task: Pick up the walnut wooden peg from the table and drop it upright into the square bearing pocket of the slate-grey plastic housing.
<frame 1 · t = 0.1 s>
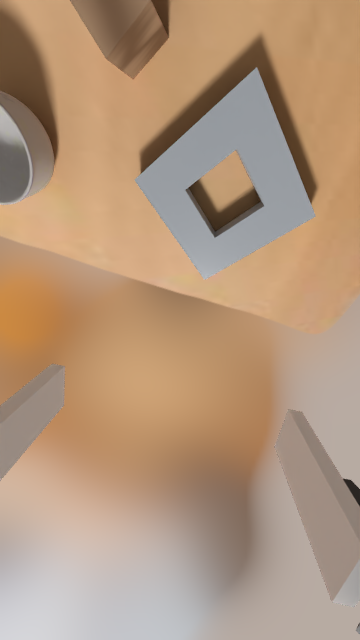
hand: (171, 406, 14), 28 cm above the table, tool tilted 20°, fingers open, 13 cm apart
peg: (134, 31, 24), on the table
housing: (224, 194, 32), on the table
teacup: (18, 152, 32), on the table
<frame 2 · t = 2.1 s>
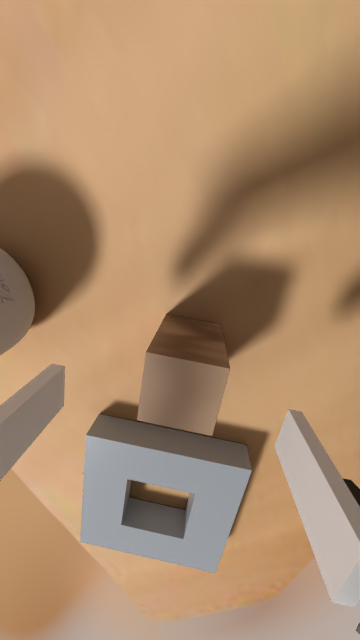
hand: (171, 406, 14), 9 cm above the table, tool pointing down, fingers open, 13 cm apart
peg: (188, 344, 22), on the table
housing: (161, 483, 28), on the table
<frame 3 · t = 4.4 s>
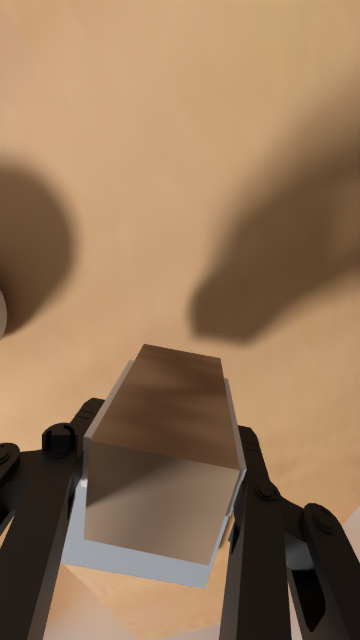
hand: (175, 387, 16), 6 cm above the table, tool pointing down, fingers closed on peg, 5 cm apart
peg: (175, 384, 16), point 5 cm above the table, touching gripper
housing: (147, 496, 27), on the table
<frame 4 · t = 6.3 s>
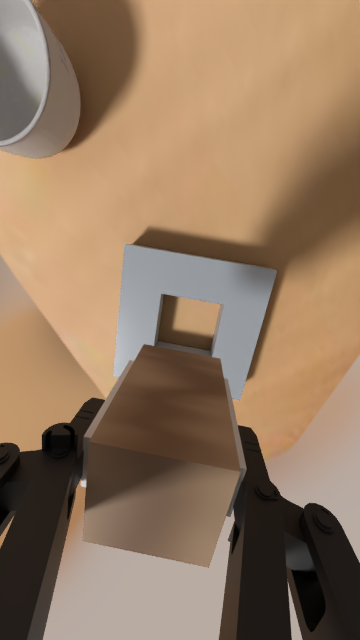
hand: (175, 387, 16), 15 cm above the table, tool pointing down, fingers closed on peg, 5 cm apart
peg: (175, 384, 16), point 15 cm above the table, touching gripper
housing: (188, 320, 30), on the table
teacup: (30, 103, 25), on the table
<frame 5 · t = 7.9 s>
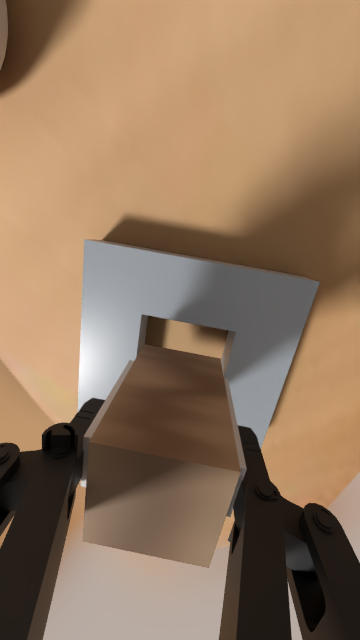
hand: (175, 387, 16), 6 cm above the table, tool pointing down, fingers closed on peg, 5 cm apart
peg: (175, 384, 16), point 6 cm above the table, touching gripper
housing: (183, 348, 21), on the table
when the fingers open (3 cm above the table, at t = 8.7 s): peg drops 3 cm, resting in housing.
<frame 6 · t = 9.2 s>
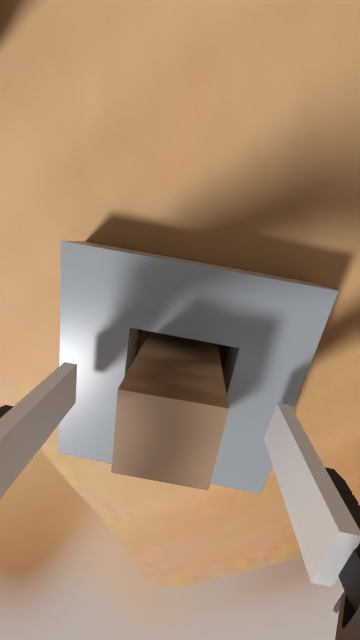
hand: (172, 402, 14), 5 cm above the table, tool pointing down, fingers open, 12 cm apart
peg: (179, 363, 19), resting in housing
housing: (179, 364, 19), on the table
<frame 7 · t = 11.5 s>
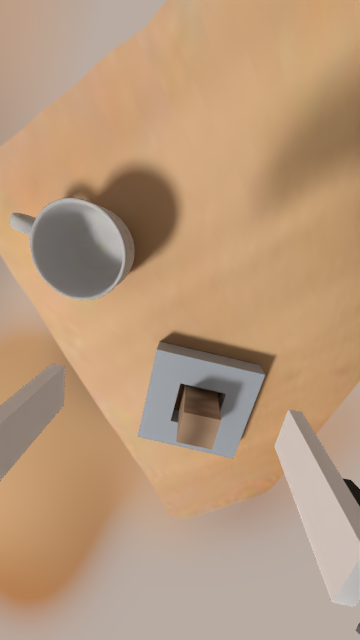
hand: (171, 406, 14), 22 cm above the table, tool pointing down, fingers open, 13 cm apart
peg: (197, 395, 40), resting in housing
housing: (197, 396, 40), on the table
teacup: (93, 243, 34), on the table
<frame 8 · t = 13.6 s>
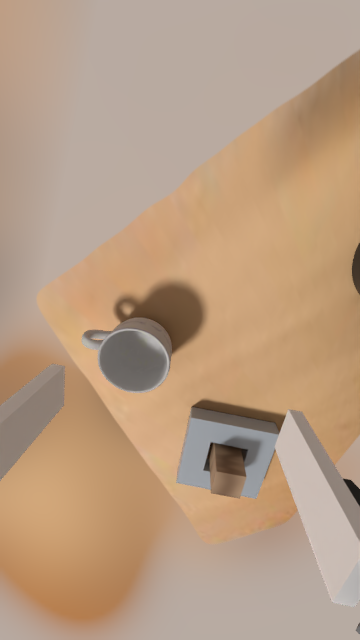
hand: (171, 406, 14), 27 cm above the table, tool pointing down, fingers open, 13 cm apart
peg: (223, 446, 48), resting in housing
housing: (223, 447, 48), on the table
teacup: (137, 336, 42), on the table
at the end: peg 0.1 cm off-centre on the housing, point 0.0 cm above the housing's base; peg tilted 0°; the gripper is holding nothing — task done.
